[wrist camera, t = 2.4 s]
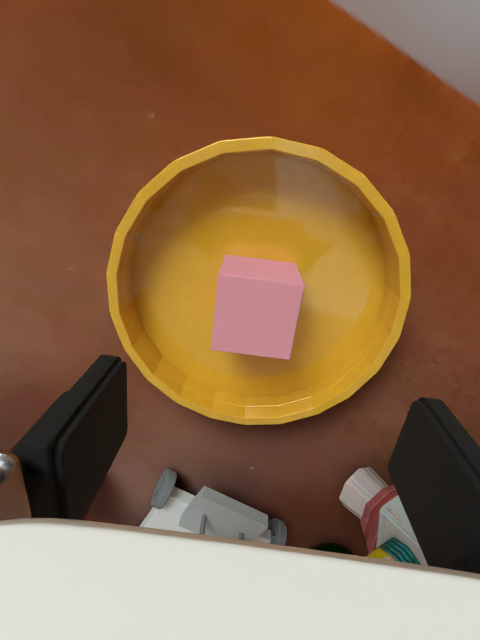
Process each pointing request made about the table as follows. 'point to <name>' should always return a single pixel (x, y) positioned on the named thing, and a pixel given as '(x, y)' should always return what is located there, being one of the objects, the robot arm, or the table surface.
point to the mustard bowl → (263, 243)
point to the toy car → (209, 514)
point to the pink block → (257, 307)
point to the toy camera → (381, 518)
